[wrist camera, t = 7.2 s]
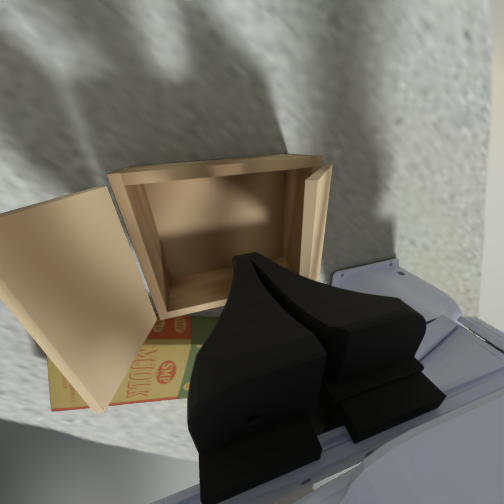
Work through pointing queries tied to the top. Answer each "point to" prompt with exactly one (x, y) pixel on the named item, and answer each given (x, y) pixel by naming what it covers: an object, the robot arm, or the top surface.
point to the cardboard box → (211, 222)
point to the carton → (147, 366)
